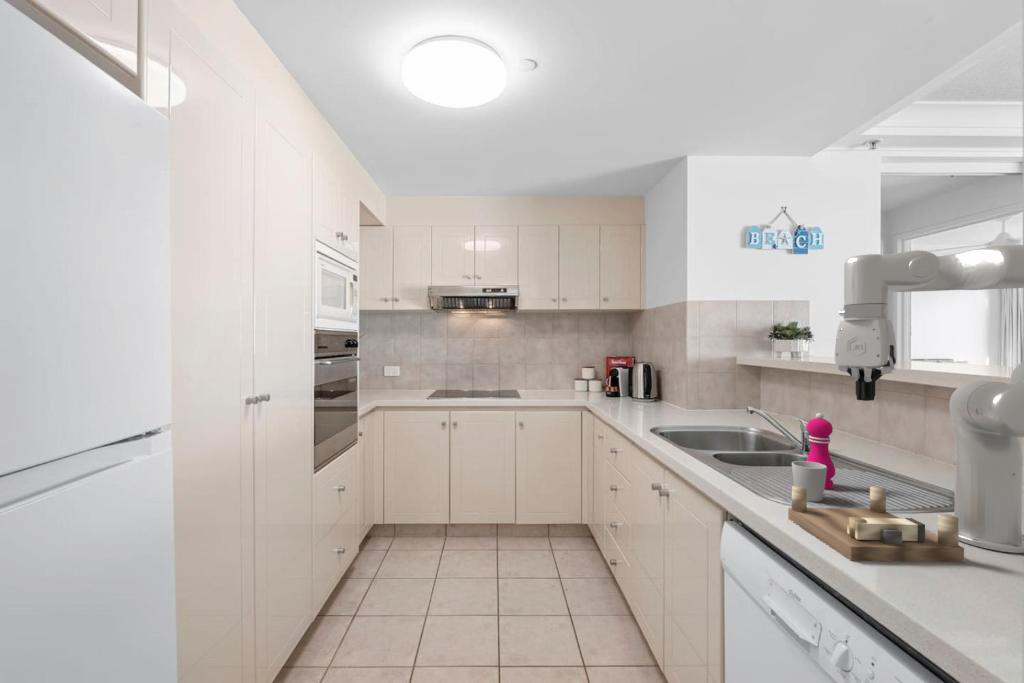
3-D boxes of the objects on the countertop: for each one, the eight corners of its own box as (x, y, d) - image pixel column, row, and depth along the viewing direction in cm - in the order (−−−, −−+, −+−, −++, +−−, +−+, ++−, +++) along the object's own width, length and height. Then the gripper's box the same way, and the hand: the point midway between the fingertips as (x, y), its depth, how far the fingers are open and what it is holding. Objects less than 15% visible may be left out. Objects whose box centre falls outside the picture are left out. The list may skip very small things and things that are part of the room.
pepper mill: (823, 481, 134) (823, 410, 134) (841, 490, 126) (842, 414, 126) (798, 482, 133) (798, 411, 133) (815, 490, 126) (815, 415, 126)
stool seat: (851, 560, 85) (851, 519, 85) (788, 519, 105) (788, 485, 105) (963, 561, 85) (964, 520, 85) (879, 519, 105) (879, 486, 105)
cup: (789, 499, 119) (789, 465, 119) (794, 489, 127) (794, 457, 127) (825, 505, 114) (825, 470, 114) (828, 495, 122) (829, 462, 122)
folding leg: (856, 540, 88) (856, 522, 88) (845, 533, 91) (845, 516, 91) (925, 542, 87) (925, 524, 87) (911, 534, 90) (911, 517, 90)
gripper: (819, 315, 106) (819, 397, 106) (893, 311, 92) (893, 405, 92) (841, 315, 109) (841, 395, 109) (917, 312, 95) (917, 403, 95)
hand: (865, 399), depth 101 cm, fingers closed
